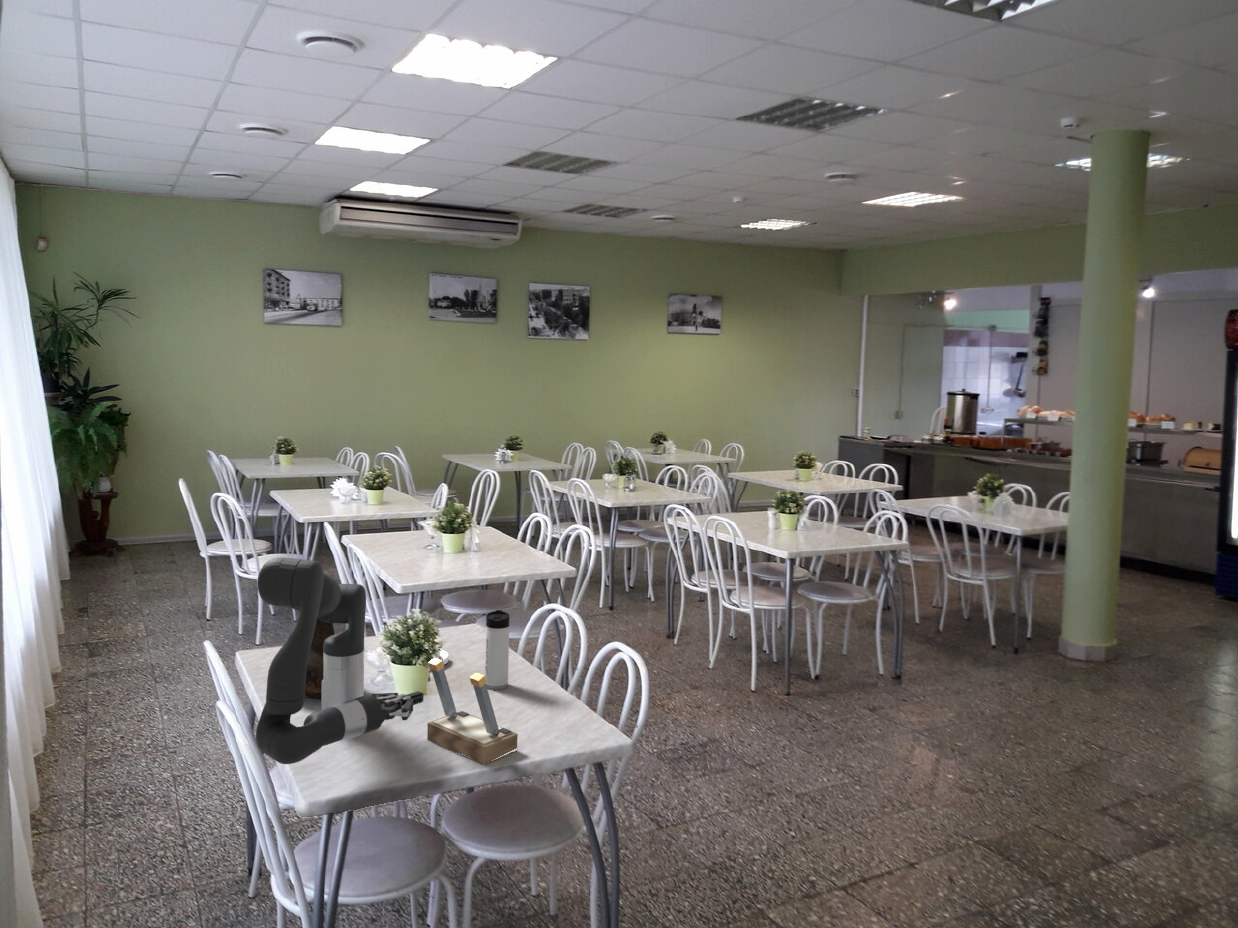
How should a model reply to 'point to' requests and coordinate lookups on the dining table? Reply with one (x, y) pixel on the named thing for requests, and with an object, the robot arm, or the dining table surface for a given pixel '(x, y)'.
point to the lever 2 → (484, 703)
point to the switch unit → (471, 737)
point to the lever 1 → (443, 687)
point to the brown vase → (317, 659)
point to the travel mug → (497, 650)
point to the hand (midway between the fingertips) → (421, 696)
